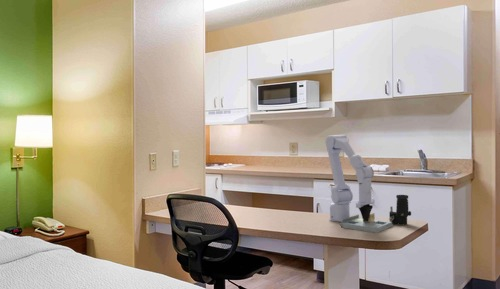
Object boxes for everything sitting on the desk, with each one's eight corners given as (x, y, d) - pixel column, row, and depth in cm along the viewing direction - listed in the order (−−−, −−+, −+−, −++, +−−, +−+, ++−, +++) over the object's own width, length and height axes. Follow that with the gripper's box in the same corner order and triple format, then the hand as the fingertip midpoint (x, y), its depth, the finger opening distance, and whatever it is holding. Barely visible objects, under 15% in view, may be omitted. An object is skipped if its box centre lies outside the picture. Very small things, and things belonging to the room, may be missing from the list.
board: (341, 227, 196) (341, 219, 196) (357, 221, 208) (357, 214, 207) (376, 232, 184) (376, 224, 183) (392, 226, 195) (392, 218, 195)
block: (362, 221, 197) (362, 213, 197) (366, 220, 200) (366, 212, 200) (370, 222, 195) (370, 214, 194) (374, 221, 197) (374, 213, 197)
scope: (389, 193, 205) (410, 194, 201) (389, 221, 205) (411, 222, 202) (388, 196, 197) (411, 197, 194) (389, 225, 198) (411, 226, 194)
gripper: (365, 194, 186) (366, 224, 187) (380, 190, 197) (380, 219, 197) (351, 193, 191) (352, 222, 192) (366, 189, 202) (367, 217, 202)
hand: (365, 220), depth 195 cm, fingers closed
